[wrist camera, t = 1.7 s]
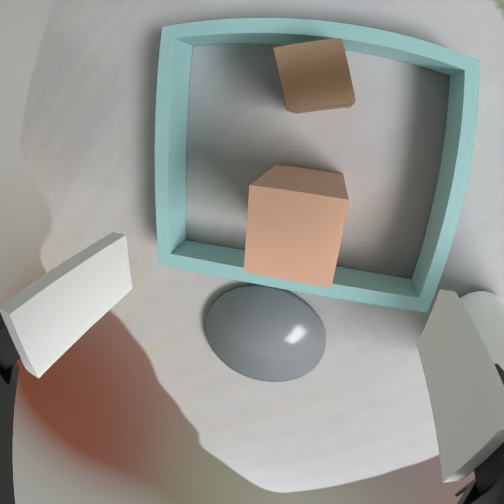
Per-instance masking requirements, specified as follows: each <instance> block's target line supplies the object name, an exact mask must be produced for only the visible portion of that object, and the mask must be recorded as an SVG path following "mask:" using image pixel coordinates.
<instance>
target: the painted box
mask: <svg viewBox="0 0 504 504" xmlns="http://www.w3.org/2000/svg"><path fill="white" fill-rule="evenodd" d="M347 206H348V195H347V190H346V186H345V181H344V176H343V174H340V173H334V172H328V171H321V170H315V169H308V168H301V167H293V166H286V165H278V164H277V165H275V166H274V167H273V168H271V169H270V170H269V171H267V172H266V173H265V174H263V175H262V176H261V177H259V178H258V179H257V180H255V181H254V182H253V183H252V184H250V185H249V198H248V213H247V228H246V243H245V259H244V272H247V273H252V274H257V275H263V276H268V277H273V278H279V279H284V280H290V281H295V282H301V283H307V284H312V285H318V286H324V287H329V288H331V287H332V282H333V278H334V273H335V268H336V264H337V259H338V254H339V249H340V244H341V239H342V234H343V229H344V223H345V218H346V212H347Z"/></svg>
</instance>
